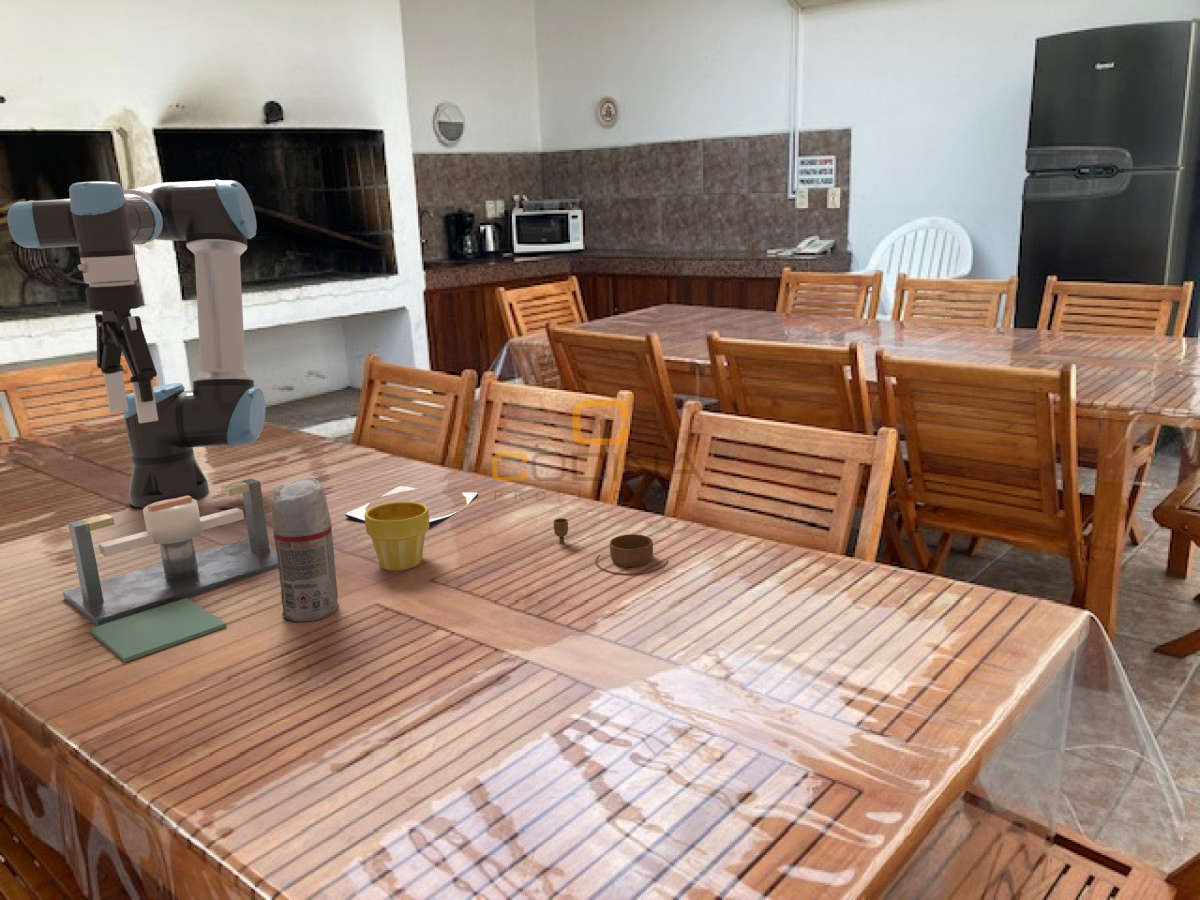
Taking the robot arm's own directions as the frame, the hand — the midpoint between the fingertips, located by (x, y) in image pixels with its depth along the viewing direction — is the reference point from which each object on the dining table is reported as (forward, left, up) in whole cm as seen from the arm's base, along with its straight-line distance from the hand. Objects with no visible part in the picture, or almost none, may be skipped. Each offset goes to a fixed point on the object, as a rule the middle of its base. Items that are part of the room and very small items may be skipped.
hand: (133, 416), depth 152 cm
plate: (-44, +10, -27) cm, 53 cm away
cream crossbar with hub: (0, +9, -19) cm, 21 cm away
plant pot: (-27, +32, -27) cm, 50 cm away
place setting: (-53, +58, -27) cm, 83 cm away
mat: (+10, +25, -27) cm, 37 cm away
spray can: (-8, +37, -27) cm, 46 cm away
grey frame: (0, +9, -27) cm, 28 cm away
